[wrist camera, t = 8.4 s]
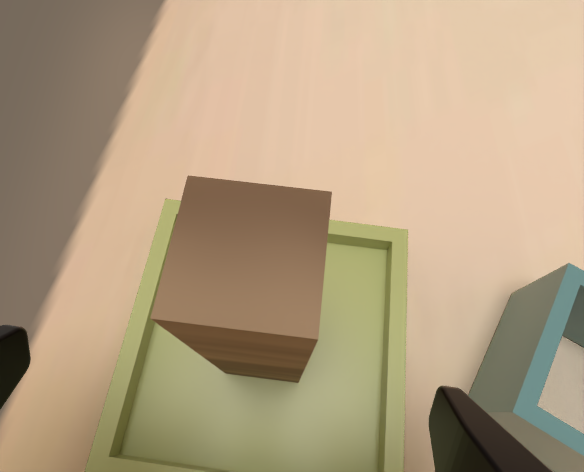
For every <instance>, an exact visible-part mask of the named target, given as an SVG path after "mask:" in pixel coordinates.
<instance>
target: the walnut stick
mask: <svg viewBox="0 0 584 472" xmlns="http://www.w3.org/2000/svg"><path fill="white" fill-rule="evenodd" d="M331 195H332V192H328V191H320V190H311V189H302V188H293V187H284V186H275V185H267V184H258V183H249V182H240V181H231V180H222V179H214V178H205V177H196V176H188V177H187V181H186V184H185V188H184V192H183V196H182V200H181V203H180V207H179V211H178V215H177V219H176V223H175V226H174V230H173V234H172V238H171V242H170V245H169V249H168V253H167V257H166V261H165V264H164V268H163V272H162V276H161V280H160V284H159V287H158V291H157V295H156V299H155V303H154V306H153V310H152V314H151V318H150V319H152V320H153V321H154V322H156V323H157V324H158V325H160V326H161V327H162V328H164V329H165V330H167V331H168V332H169V333H171V334H172V335H173V336H175V337H176V338H178V339H179V340H180V341H182V342H183V343H184V344H186V345H187V346H189V347H190V348H191V349H193V350H194V351H195V352H197V353H198V354H199V355H201V356H202V357H204V358H205V359H206V360H208V361H209V362H210V363H212V364H213V365H215V366H216V367H217V368H219V369H220V370H221V371H223V372H224V373H225V374H233V375H240V376H248V377H256V378H264V379H272V380H279V381H287V382H295V383H299V381H300V378H301V376H302V374H303V372H304V370H305V367H306V365H307V363H308V361H309V359H310V357H311V354H312V352H313V350H314V348H315V346H316V343H317V341H318V337H319V326H320V315H321V304H322V294H323V283H324V272H325V261H326V250H327V239H328V228H329V217H330V206H331Z"/></svg>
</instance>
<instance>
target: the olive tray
mask: <svg viewBox="0 0 584 472" xmlns="http://www.w3.org/2000/svg"><path fill="white" fill-rule="evenodd" d="M180 203H181V201H179V200H171V199H165V202H164V205H163V209H162V212H161V216H160V219H159V222H158V226H157V229H156V232H155V236H154V239H153V242H152V246H151V249H150V253H149V256H148V259H147V263H146V266H145V269H144V273H143V276H142V280H141V283H140V286H139V290H138V293H137V296H136V300H135V303H134V307H133V310H132V313H131V317H130V320H129V323H128V327H127V330H126V334H125V337H124V340H123V344H122V347H121V350H120V354H119V357H118V360H117V364H116V367H115V371H114V374H113V377H112V381H111V384H110V387H109V391H108V394H107V398H106V401H105V404H104V408H103V411H102V414H101V418H100V421H99V425H98V428H97V431H96V435H95V438H94V441H93V445H92V448H91V452H90V455H89V458H88V462H87V465H86V468H85V472H404V423H405V368H406V313H407V258H408V230H406V229H398V228H390V227H382V226H375V225H367V224H359V223H351V222H343V221H335V220H329V228H328V239H327V250H326V261H325V272H324V283H323V294H322V304H321V315H320V326H319V337H318V341H317V343H316V346H315V348H314V350H313V352H312V354H311V357H310V359H309V361H308V363H307V365H306V367H305V370H304V372H303V374H302V376H301V378H300V381H299V383H295V382H287V381H279V380H272V379H264V378H256V377H248V376H240V375H233V374H225V373H224V372H223V371H221V370H220V369H219V368H217V367H216V366H215V365H213V364H212V363H210V362H209V361H208V360H206V359H205V358H204V357H202V356H201V355H199V354H198V353H197V352H195V351H194V350H193V349H191V348H190V347H189V346H187V345H186V344H184V343H183V342H182V341H180V340H179V339H178V338H176V337H175V336H173V335H172V334H171V333H169V332H168V331H167V330H165V329H164V328H162V327H161V326H160V325H158V324H157V323H156V322H154V321H153V320H152V319H150V318H151V314H152V310H153V306H154V303H155V299H156V295H157V291H158V287H159V284H160V280H161V276H162V272H163V268H164V264H165V261H166V257H167V253H168V249H169V245H170V242H171V238H172V234H173V230H174V226H175V223H176V219H177V215H178V211H179V207H180Z"/></svg>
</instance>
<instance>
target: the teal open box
mask: <svg viewBox="0 0 584 472" xmlns="http://www.w3.org/2000/svg"><path fill="white" fill-rule="evenodd" d="M562 335H563V336H564V337H566V338H568V339H570V340H572V341H573V342H575V343H577V344H579V345H580V346H582V347H584V271H583V270H581V269H579V268H578V267H576V266H574V265H572V264H570V263H568V264H566V265H564V266H562V267H560V268H559V269H557V270H555V271H553V272H551V273H549V274H547V275H546V276H544V277H542V278H540V279H538V280H536V281H534V282H532V283H531V284H529V285H527V286H525V287H523V288H521V289H519V290H518V291H516V292H514V293H512V294H511V296H510V299H509V301H508V303H507V306H506V308H505V310H504V313H503V315H502V317H501V320H500V322H499V325H498V327H497V329H496V332H495V334H494V336H493V339H492V341H491V343H490V346H489V348H488V350H487V353H486V355H485V357H484V360H483V362H482V364H481V367H480V369H479V371H478V374H477V376H476V378H475V381H474V383H473V385H472V388H471V390H470V392H469V395H468V396H469V397H470V398H471V399H472V400H473V401H474V402H475V403H477V404H478V405H479V406H480V407H481V408H482V409H483V410H484V411H486V412H487V413H488V414H489V415H490V416H491V417H492V418H493V419H494V420H496V421H497V422H498V423H499V424H500V425H501V426H502V427H503V428H504V429H506V430H507V431H508V432H509V433H510V434H511V435H512V436H513V437H514V438H516V439H517V440H518V441H519V442H520V443H521V444H522V445H523V446H524V447H526V448H527V449H528V450H529V451H530V452H531V453H532V454H533V455H535V456H536V457H537V458H538V459H539V460H540V461H541V462H542V463H543V464H545V465H546V466H547V467H548V468H549V469H550V470H552V471H553V472H584V434H583V433H581V432H579V431H578V430H576V429H574V428H573V427H571V426H569V425H568V424H566V423H564V422H563V421H561V420H559V419H558V418H556V417H554V416H553V415H551V414H549V413H548V412H546V411H544V410H543V409H541V408H540V407H538V406H537V404H538V401H539V399H540V396H541V393H542V390H543V387H544V385H545V382H546V379H547V376H548V373H549V371H550V368H551V365H552V362H553V359H554V357H555V354H556V351H557V348H558V345H559V343H560V340H561V337H562Z"/></svg>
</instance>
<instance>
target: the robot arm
mask: <svg viewBox="0 0 584 472" xmlns="http://www.w3.org/2000/svg"><path fill="white" fill-rule="evenodd" d="M30 359H31V358H30V350H29V343H28V336H27V331H26V330H25V329H24V328H23V327H19V326H11V325H2V326H0V409H1V408H2V406H3V405H4V403H5V402H6V400H7V399H8V397H9V396H10V395H11V393H12V392H13V390H14V389H15V387H16V386H17V384H18V383H19V381H20V380H21V378H22V377H23V375H24V374H25V372H26V371H27V369H28V367H29V364H30ZM429 431H430V438H431V445H432V451H433V458H434V465H435V471H436V472H552V471H551V470H550V469H549V468H548V467H547V466H546V465H545V464H543V463H542V462H541V461H540V460H539V459H538V458H537V457H536V456H535V455H533V454H532V453H531V452H530V451H529V450H528V449H527V448H526V447H524V446H523V445H522V444H521V443H520V442H519V441H518V440H517V439H516V438H514V437H513V436H512V435H511V434H510V433H509V432H508V431H507V430H506V429H504V428H503V427H502V426H501V425H500V424H499V423H498V422H497V421H496V420H494V419H493V418H492V417H491V416H490V415H489V414H488V413H487V412H486V411H484V410H483V409H482V408H481V407H480V406H479V405H478V404H477V403H475V402H474V401H473V400H472V399H471V398H470V397H469V396H468V395H467V394H465V393H464V392H463V391H462V390H461V389H459V388H456V387H449V386H440V387H439V388H438V389H437V391H436V394H435V398H434V401H433V405H432V408H431V412H430V415H429Z"/></svg>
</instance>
